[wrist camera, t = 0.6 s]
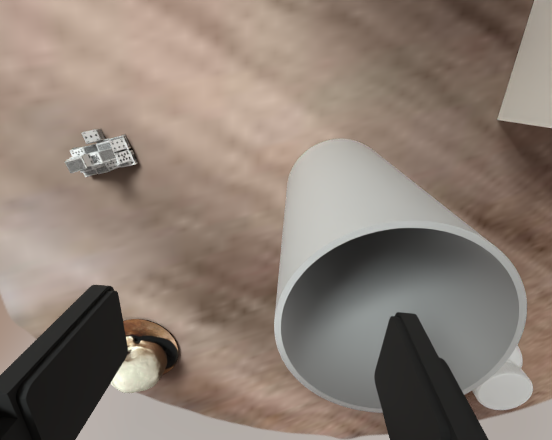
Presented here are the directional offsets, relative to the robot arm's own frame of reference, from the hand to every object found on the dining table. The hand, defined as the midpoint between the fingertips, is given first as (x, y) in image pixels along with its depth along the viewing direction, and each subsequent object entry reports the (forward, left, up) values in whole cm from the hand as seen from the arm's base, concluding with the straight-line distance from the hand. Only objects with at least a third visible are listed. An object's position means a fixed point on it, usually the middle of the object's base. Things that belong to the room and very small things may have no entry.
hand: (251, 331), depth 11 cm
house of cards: (-2, -22, -30) cm, 37 cm away
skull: (+37, -22, -31) cm, 53 cm away
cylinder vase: (+4, +7, -30) cm, 31 cm away
